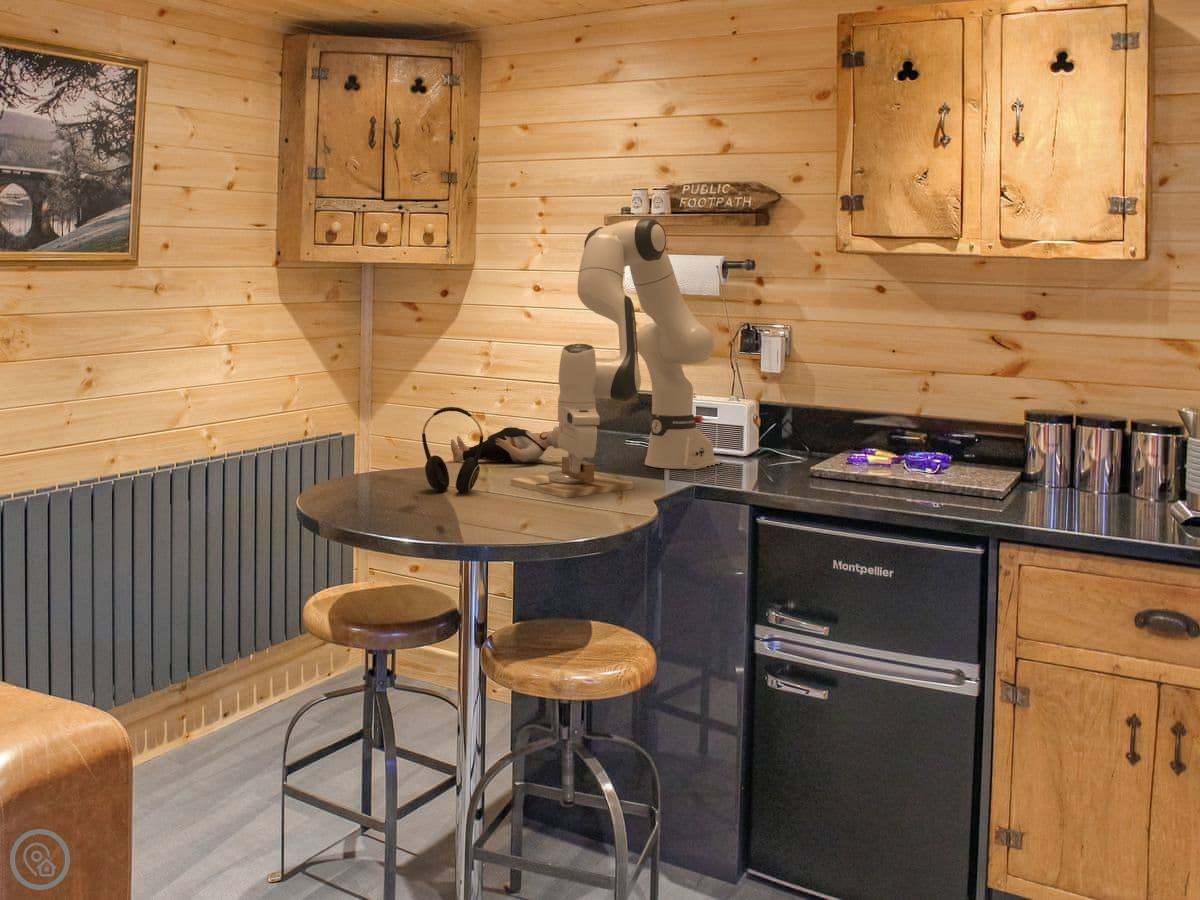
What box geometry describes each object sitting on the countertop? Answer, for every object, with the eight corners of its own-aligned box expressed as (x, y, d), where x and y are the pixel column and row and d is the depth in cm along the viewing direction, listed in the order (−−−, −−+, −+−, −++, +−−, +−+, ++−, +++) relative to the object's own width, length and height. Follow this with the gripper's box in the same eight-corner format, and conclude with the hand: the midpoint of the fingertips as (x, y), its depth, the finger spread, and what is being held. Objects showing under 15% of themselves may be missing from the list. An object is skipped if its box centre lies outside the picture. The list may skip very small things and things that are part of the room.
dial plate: (576, 476, 287) (576, 470, 287) (632, 488, 271) (632, 481, 271) (510, 484, 273) (510, 477, 273) (565, 498, 258) (565, 490, 257)
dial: (541, 477, 274) (541, 456, 274) (581, 474, 279) (582, 454, 279) (567, 487, 261) (568, 465, 260) (610, 484, 266) (610, 463, 265)
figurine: (461, 431, 321) (563, 414, 318) (468, 467, 323) (570, 450, 319) (442, 442, 299) (552, 423, 295) (450, 480, 300) (559, 462, 296)
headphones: (428, 487, 268) (428, 403, 265) (488, 490, 266) (488, 406, 263) (416, 493, 260) (415, 407, 257) (477, 496, 257) (478, 410, 254)
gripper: (552, 409, 272) (550, 466, 273) (575, 418, 252) (573, 478, 254) (577, 409, 274) (575, 465, 275) (602, 418, 254) (600, 478, 256)
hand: (574, 472), depth 265 cm, fingers closed
